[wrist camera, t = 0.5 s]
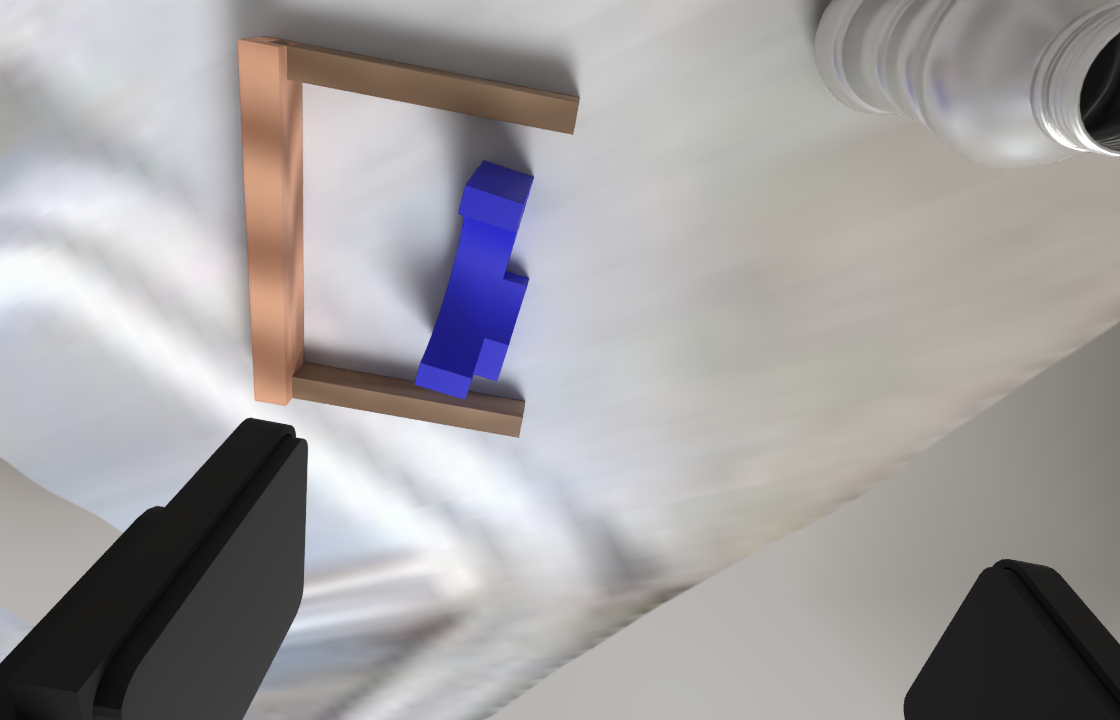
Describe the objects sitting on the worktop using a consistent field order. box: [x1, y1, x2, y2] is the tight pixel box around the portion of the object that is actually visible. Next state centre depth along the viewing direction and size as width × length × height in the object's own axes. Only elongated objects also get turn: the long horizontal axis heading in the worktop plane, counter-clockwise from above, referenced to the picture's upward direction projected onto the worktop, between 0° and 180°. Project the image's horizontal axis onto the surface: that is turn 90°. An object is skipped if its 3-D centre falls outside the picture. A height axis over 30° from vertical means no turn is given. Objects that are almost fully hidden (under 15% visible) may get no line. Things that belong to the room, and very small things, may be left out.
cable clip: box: [415, 160, 534, 400], centre depth 39 cm, size 12×4×6 cm, turn 162°
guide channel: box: [238, 36, 580, 438], centre depth 40 cm, size 21×17×3 cm
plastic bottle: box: [814, 0, 1120, 169], centre depth 26 cm, size 6×7×20 cm
